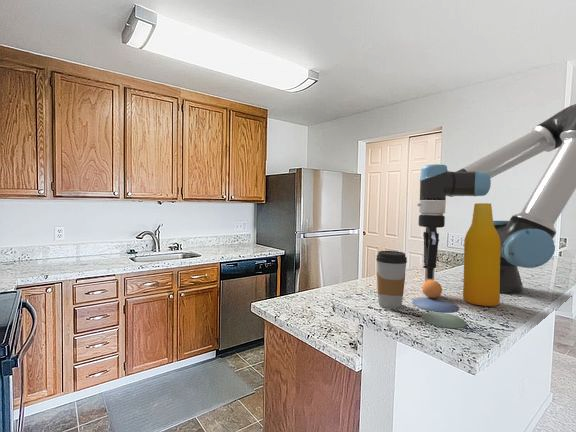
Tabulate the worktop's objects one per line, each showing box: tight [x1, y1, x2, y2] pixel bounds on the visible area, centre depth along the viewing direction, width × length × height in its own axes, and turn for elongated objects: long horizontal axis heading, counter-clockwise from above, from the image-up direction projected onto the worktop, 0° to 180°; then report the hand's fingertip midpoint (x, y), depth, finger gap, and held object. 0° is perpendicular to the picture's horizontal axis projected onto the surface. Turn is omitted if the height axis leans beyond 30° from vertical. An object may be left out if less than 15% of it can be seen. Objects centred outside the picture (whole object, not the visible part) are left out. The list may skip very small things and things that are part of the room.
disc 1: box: [412, 297, 459, 313], centre depth 91 cm, size 12×12×1 cm
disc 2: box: [421, 311, 467, 329], centre depth 80 cm, size 10×10×1 cm
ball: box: [421, 279, 443, 299], centre depth 98 cm, size 6×6×6 cm
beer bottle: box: [462, 202, 501, 307], centre depth 94 cm, size 9×9×29 cm
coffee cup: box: [375, 250, 408, 310], centre depth 90 cm, size 8×8×15 cm
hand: (428, 287), depth 102 cm, fingers closed
